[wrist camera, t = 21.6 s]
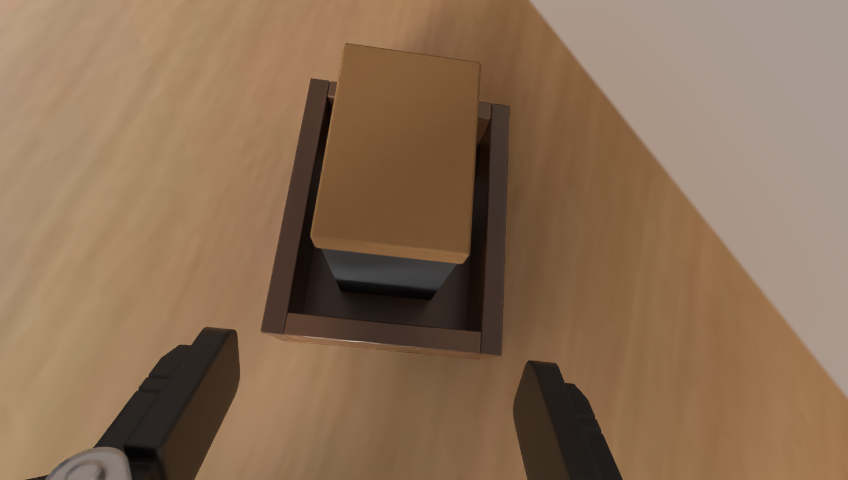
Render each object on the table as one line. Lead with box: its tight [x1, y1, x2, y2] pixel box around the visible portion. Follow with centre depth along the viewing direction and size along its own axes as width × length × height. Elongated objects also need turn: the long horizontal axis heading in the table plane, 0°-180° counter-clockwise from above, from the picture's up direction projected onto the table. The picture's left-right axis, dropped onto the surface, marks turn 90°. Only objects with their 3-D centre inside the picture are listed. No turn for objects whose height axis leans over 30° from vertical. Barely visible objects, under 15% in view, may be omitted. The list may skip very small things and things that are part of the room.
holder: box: [261, 78, 510, 359], centre depth 19 cm, size 9×11×4 cm
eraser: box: [310, 43, 481, 300], centre depth 16 cm, size 4×6×8 cm
